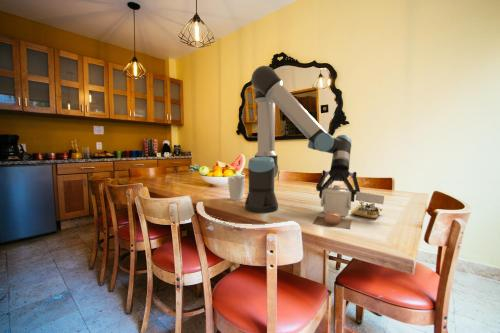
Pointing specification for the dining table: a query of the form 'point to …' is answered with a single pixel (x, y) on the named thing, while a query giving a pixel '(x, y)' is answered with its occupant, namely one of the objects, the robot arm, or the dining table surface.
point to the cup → (236, 187)
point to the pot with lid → (336, 200)
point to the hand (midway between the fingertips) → (335, 206)
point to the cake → (367, 209)
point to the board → (343, 224)
